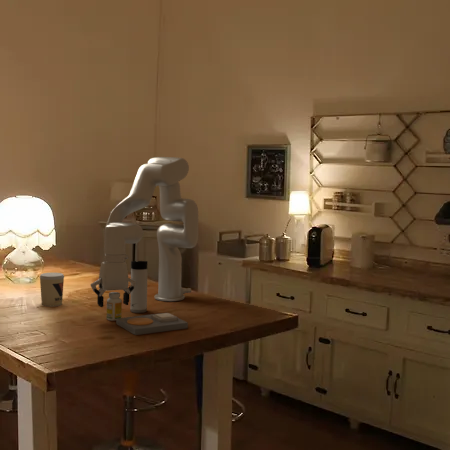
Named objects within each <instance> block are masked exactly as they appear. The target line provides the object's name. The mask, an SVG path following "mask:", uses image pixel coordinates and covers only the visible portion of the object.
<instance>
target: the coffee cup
mask: <svg viewBox="0 0 450 450" xmlns="http://www.w3.org/2000/svg"><path fill="white" fill-rule="evenodd" d="M64 279H65V275H64V273H62V272H43V273H40V275H39V282H40V284H39V285H40V296H41V306H43V307H50V308H51V307H52V308H53V307H60V306H61V305H63V296H64V295H63V294H64V281H65V280H64Z"/></svg>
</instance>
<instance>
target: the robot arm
mask: <svg viewBox="0 0 450 450" xmlns="http://www.w3.org/2000/svg"><path fill="white" fill-rule="evenodd" d="M189 170H190V165H189V163H188V161H187V160H186V159H185V158H183V157H173V156H172V157H170V156H155V157H151V158H149V160H148V161H147V163H144V164H142V165H140V167H139V168H138V169H137V173H136V176H135V178H134V181H133V183H132V186H131V188H130V191H129V194H128V196H126V197H125V198H124V199H122V201H120V202H119V203H118V204H117V205H116V206H115V207H114V208H113V209H112V210H111V211H110V214H109V216H108V218H107V221H106V224H105V226H104V231H103V232H104V238H103V239H104V240H103V241H104V243H103V246H104V247H103V261H102V262H101V263H100V268H99V275H98V279H97V280H94V281H93V282H92V283H90V287H91V289H92V291H93V292H94V293H95V294H96V296H97V299H96V300H97V301H96V302H97V305H98V307H100V308H104V296H103V295H104V293H105V292H107V291H109V292H110V291H111V292H112V291H120V290H121V291H123V294H122V295H123V296H122V298H123V299H122V300H123V301H122V303H123V304H124V306H129V303H130V295H131V291H132V290H133V289H134V287H135V285H136V281H134V280H132V279H131V277H129V269H128V264H127V262H126V260H127V259H129V255H128V254H126V244H137V243H139V242H141V240H142V239H143V236H144V230H143V228H142V226H141V225H139V224H137V223H135V222H134V223H132V222H122V221H124V219H125V218H126V217H127V216H129V215H130V214H133V213H134V212H137V211H139V210H142V209H144V208H147V207H148V206H149V205H150V204H151V201H152V198H153V195H154V192H155V190H156V187H158V188H159V212H160V216H161V218H162V219H163V220H165V221H169V222H170V221H173V222H181V223H182V222H183V224H180V223H164V224H161V225H159V227H158V228H157V230H156V240H157V244H158V279H157V280H158V291H157V292H158V293H156V294H155V295H154V299H155V300H157V301H161V302H178V301H180V302H181V301H182V300H183V301H184V299H185V295H184V294H190V293H192V288H191V287H190V288H189V287H188V288H186V287H182V260H183V259H182V254H181V251H180V249H179V248H182V249H193V248H195V247H196V246H197V245H198V241H199V208H198V204H197V203H196V201H195V200H193V199H191V198H182V196H181V194H182V193H181V186H180V183H179V182H180V181H183V180H184V179H185V178H186V177H187V176H188V173H189ZM129 283H130V285H129ZM97 286H98V288H97Z"/></svg>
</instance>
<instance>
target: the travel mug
mask: <svg viewBox="0 0 450 450" xmlns="http://www.w3.org/2000/svg"><path fill="white" fill-rule="evenodd" d="M130 279H132V280H134V281H136V285H135V287H134V289H133V290H132V291H131V293H130V312H131V313H135V314H143V313H146V312H147V311H148V261H147V260H138V261H137V260H131V262H130Z"/></svg>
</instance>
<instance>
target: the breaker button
mask: <svg viewBox="0 0 450 450" xmlns="http://www.w3.org/2000/svg"><path fill="white" fill-rule="evenodd" d="M162 313H163V314H160V313H154V314H155V316H156V317H158V318H160V319H165V318H173V317H174V316H175V315H174V314H172V313H170V312H162ZM169 313H170V314H169ZM171 314H172V315H171ZM173 315H174V316H173Z"/></svg>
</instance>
